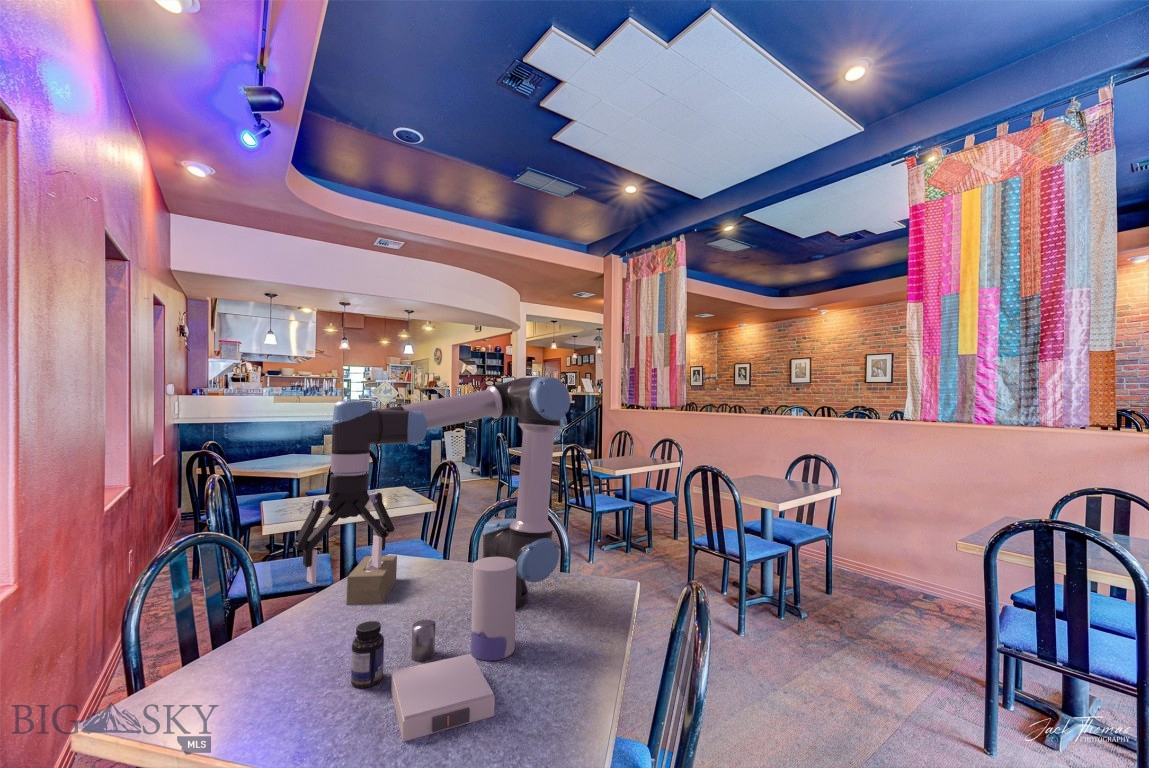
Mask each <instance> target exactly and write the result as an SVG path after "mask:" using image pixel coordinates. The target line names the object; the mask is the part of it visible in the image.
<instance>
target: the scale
mask: <svg viewBox="0 0 1149 768" xmlns="http://www.w3.org/2000/svg"><path fill="white" fill-rule="evenodd" d="M474 658H475V657H474V656H473V655H472V653H468V654H463V655H459V656H454V657H453V656H452V657H449V658H444V659H440V660H436V661H432V662H426V663H421V664H418V665H414V666H409V667H405V668H404V667H403V668H400V669H399V668H398V669H394V670H393V671H392V673H391V686H390V687H391V689H390V692H391V697H392V701H393V704H394V705H393V706H394V709H395V713H396V719H397V724H398V728H399V732H400V736H401V741H402V743H405V742H408V741H412V740H415V739H418V738H421V737H425V736H426V737H427V736H429V735H431V734H432V735H433V734H435V733H439V732H443V731H446V730H449V729H453V728H456V727H460V726H463V725H466V724H467V725H468V724H471V723H474V722H478V721H481V720H485V719H488V718H492V717H495V704H496V702H495V701H496V700H495V699H496V697H495V695H494V692H493V690H492V688H491V687H490V685H489V683H488V681H487V679H486V677H485V675H484V674H483V673H482V670H481V669H480V667H479V665H478V663H477V662H476V660H475V659H474Z"/></svg>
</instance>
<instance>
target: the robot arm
mask: <svg viewBox="0 0 1149 768" xmlns="http://www.w3.org/2000/svg"><path fill="white" fill-rule="evenodd" d="M372 407H373V406H372V403H371V402H370V401H366V400H365V401H362V400H361V401H359V400H356V401H355V400H339V401H337V402H336V403H335V404H334V406H333V414H332V415H333V416H332V420H331V424H332V427H331V428H332V429H331V454H330V472H331V473H332V474H331V475H330V476H329V496H328V498H327V499H320V498H314V499H313V500H312V502H311V509H310V511H309V513H308V515H307V517H306V519H305V521H304V522H303V525H302V526H301V529H300V530H299V532H298V534H297V536H295V537H296V538H295V539H294V541H293V543H292V546H293V547H294V548H295V549H297V550H298V551H299V550H300V551H301V550H302V565H303V566H304V567H305V568H306V569H307V570H306V582H308V583H309V584H311V585H314V584H316V583H317V568H318V566H317V565H318V550H317V549H316V548H315V547H316V546H317V545H318V543H320V542H321V540H322V539H323V537H324V536H325V535H326V534H327V533H328V531H329V530H330V529H331V528H332V526H333V525H334V523H336V522H337V521H338V520H340V519H343V520H344V519H348V518H351V517H352V518H356V517H358V516H361V518H362V519H363V520H364V521H365V522H366V523H367V524H368V526H370V528H371V529H372V530H373V531H374V532H375V533H376V534H377V535H372V546H373V552H372V551H371V555H372V565H373V566H375V567H377V568H380V567H381V556H383V555H382V551H385V550H386V541H387V540H386V538H388V537H389V534H390V533H394V532H395V526H394V524H393V522H392V520H391V518H390V515H389V514H388V511H387V509H386V507H385V505H384V502H383V493H381V492H378V491H372V492H371V493H368V491H369V479H370V478H369V477H370V476H369V474H368V471H370V453H371V449H370V448H371V445H392V444H393V445H399V444H403V445H404V444H408V445H410V444H419V443H421V442H422V441H424V440H425V437H426V435H427V431H428V430H433V429H437V428H442V427H446V426H452V425H457V424H461V423H467V422H470V421H474V420H475V421H477V420H481V419H485V418H489V417H491V418H493V419H495V420H496V419H500V418H518V419H517V425H518V426H519V428H520V429H521V430H522V443H521V453H520V465H519V466H520V467H519V476H518V477H519V478H518V490H517V502H516V513H515V514H516V516H515V518H501V519H493V520H490V521H487V522H486V523H484V526H483V533H482V537H483V540H482V558H487V557H506V558H511V559H513V560H515V561H516V563H517V566H516V608H515V610H516V609H519V608H520V609H521V607H523V606H525V605H526V604H527V603H528V601H529V589H528V586H527V582H530V583H539V582H542V581H544V580H546V579H547V578H549V576H550V575H551V574H552V573H553V572H554V571H555V570H556V568H557V566H558V563H559V559H560V550H559V547H558V545H557V544H556V543H555V541H554V540H553V529H554V528H553V526H552V525H551V523H549V520H548V519H549V507H550V506H549V505H550V493H551V483H552V482H551V480H552V478H551V477H552V469H553V453H554V441H555V440H554V439H555V433H556V431H558V430H559V429H561V420H562V419H563V418H564V417H565V416H566V414H567V413H568V412H569V410H570V407H571V395H570V392H569V389H568V388H567V386H566V385H565V384H564V383H563V382H562V380H560V379H559V378H556V377H553V376H542V375H541V376H533V377H532V376H531V377H520V378H516V379H512V380H509V381H506V382H502V383H497V384H493V385H489V386H487V388H486V389H485V390H481V391H480V390H479V391H475V392H469V393H464V394H458V395H452V396H446V397H441V398H437V399H430V400H424V401H418V402H414V403H413V402H412V403H408V404H402V405H400V406H399V405H398V406H393V407H392V406H391V407H387V408H372ZM369 502H370V503H372V505H373V508H374V509H375V512H376V514H377V516H378V518H379V520H380V523H381V524H380V523H379V522H378V520H376V518H375V517H374V516H373V515H372V514H371V512H370V510H368V508H366V505H367V504H368V503H369ZM326 507H328V508H329V510H328V512H327V513H326V514H325V515H324V516H325V517H323V519H322V520H321V522H320V523H319V525H318V526H317V527H316V525H317V523H318V521H319V519H320V517H321V516H322V513H323V511H324V510H326ZM315 527H316V528H315ZM313 530H314V531H313ZM526 581H527V582H526Z"/></svg>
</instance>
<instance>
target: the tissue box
mask: <svg viewBox="0 0 1149 768" xmlns="http://www.w3.org/2000/svg"><path fill="white" fill-rule="evenodd" d="M372 552H373V545H372V547H371V553H372ZM397 563H398V556H397V554H396V555H382V556H381V567H380V568H377V567H375V566H373V565H372V554H371V555H366V556H364V557H363V558H362V559H361V560H360V562H359V563H358V564H356V565H357V566H355V567H354V569H352V571H351V572H350V573H349V575H347V578H346V600H345V601H346V602H345V603H346V606H354V605H355V606H356V605H382V604H384V603H385V600H386V599H387V597H388V596H389V594H390V592H391V591H392V588H393V587H394V585H395V583H396V582H395V581H397V569H398V568H397V566H398V565H397Z"/></svg>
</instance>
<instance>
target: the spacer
mask: <svg viewBox="0 0 1149 768" xmlns="http://www.w3.org/2000/svg"><path fill="white" fill-rule="evenodd" d="M411 627H412V628H411V633H412V634H411V660H412V662H416V663H424V662H428V661H431V660H432V659H433V658H435V656H436V653H435V651H436V621H435V620H432V619H420V620H417V621H415V622H414V623H413V624H412V626H411Z"/></svg>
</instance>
